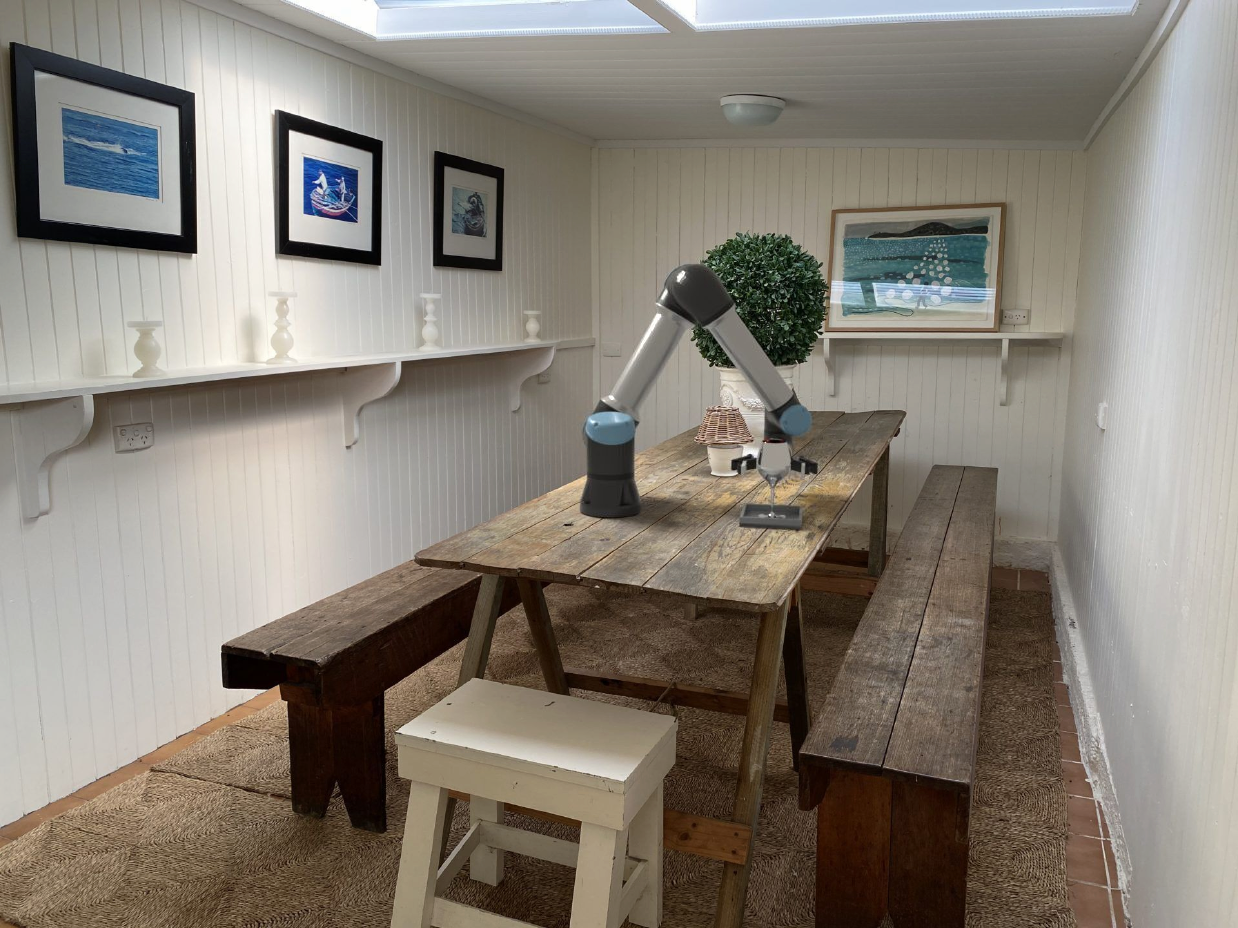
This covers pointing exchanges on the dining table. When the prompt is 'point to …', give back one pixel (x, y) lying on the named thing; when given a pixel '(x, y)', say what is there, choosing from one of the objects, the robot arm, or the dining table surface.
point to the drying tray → (752, 520)
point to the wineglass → (773, 467)
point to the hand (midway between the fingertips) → (772, 473)
